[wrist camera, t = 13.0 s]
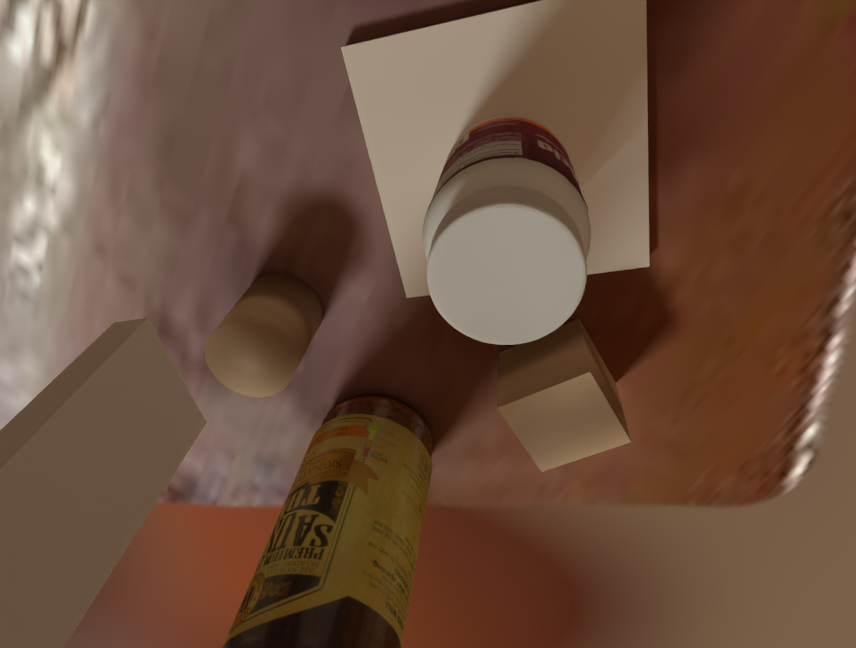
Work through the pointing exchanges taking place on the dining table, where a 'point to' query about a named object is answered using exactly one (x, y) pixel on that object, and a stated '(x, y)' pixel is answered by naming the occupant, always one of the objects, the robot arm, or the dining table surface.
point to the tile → (512, 112)
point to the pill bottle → (507, 233)
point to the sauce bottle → (344, 536)
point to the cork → (264, 335)
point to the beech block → (560, 397)
